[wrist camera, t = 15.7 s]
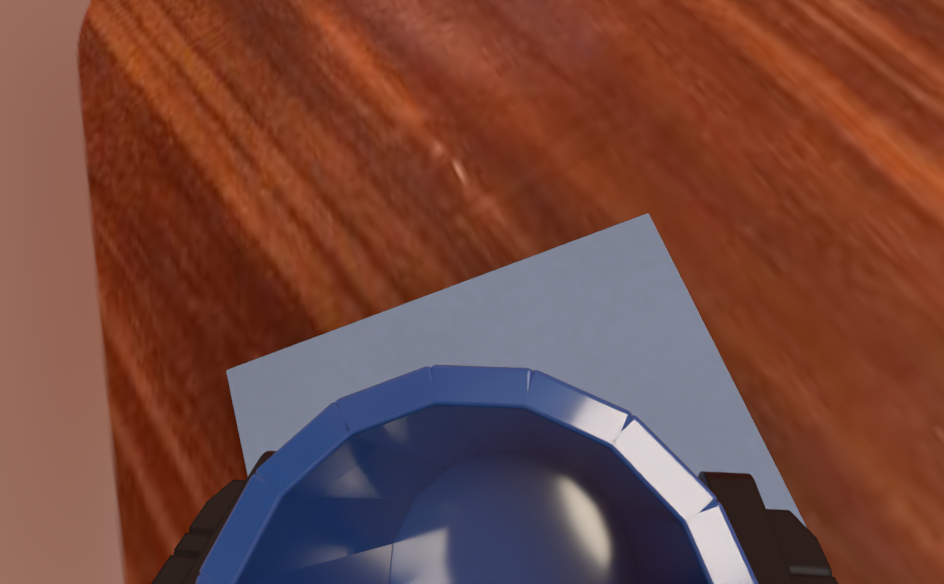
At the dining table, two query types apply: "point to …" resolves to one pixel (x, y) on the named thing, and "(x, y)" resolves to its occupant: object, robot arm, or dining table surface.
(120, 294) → the dining table surface
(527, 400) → the blue cup
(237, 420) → the blue mat
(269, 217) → the dining table surface
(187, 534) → the robot arm
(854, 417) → the dining table surface
